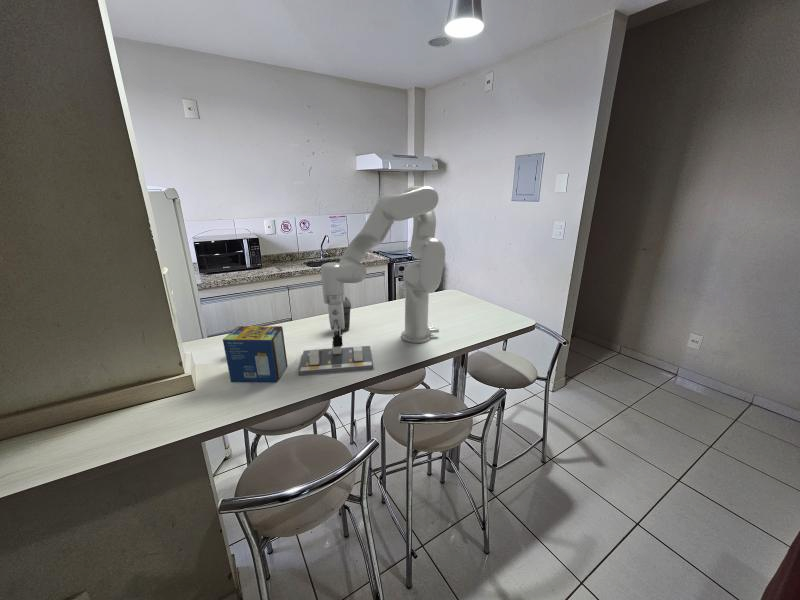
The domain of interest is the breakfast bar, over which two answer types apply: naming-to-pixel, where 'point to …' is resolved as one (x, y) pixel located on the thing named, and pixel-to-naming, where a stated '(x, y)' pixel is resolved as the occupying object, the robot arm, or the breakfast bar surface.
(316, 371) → the switch panel
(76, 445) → the breakfast bar surface
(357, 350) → the switch
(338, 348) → the switch middle
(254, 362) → the protein box
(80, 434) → the breakfast bar surface
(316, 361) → the switch
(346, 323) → the beverage cup
